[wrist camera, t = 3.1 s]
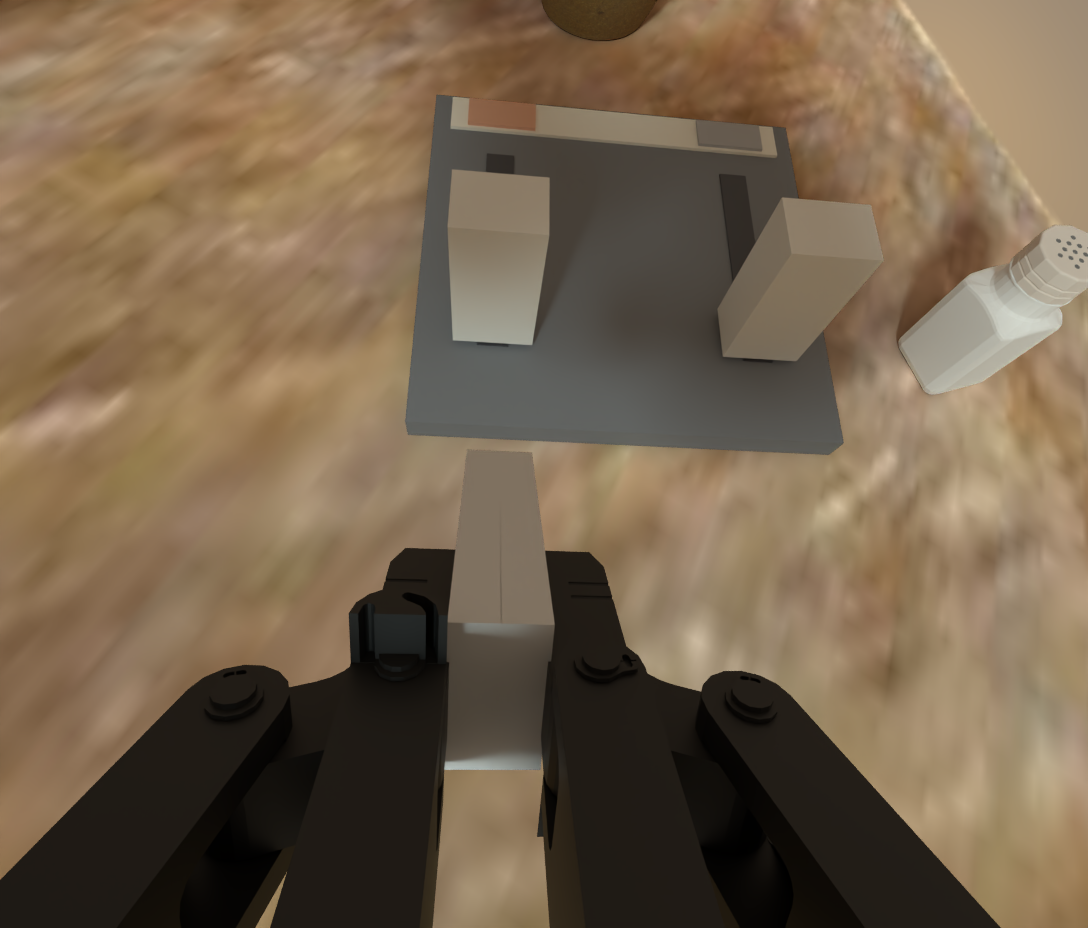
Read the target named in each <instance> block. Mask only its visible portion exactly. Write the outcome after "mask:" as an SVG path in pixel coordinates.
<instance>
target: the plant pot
mask: <svg viewBox="0 0 1088 928" xmlns="http://www.w3.org/2000/svg"><path fill="white" fill-rule="evenodd" d="M656 1H657V0H542V3H543V7H544V10H545V12H546V13H547V15H548V17H549V18H550V19H551V20H552V21H553V22H554V23H555V24H556V25H557V26H559V27H560V28H562V29H563V30H565V31H567V32H569V33H571V34H573V35H576V36H579V37H581V38H586V39H592V40H612V39H618V38H621V37H624V36H627V35H629V34H631V33H632V32H634V31H635V30H636V29H637V28H638V27H639V26H640V25H641V24H642V22H643V21H644V19H645V18H646V16H647V15H648V13H649V12H650V10H651V9H652V7H653V6H654V4H655V2H656Z"/></svg>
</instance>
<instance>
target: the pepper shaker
mask: <svg viewBox="0 0 1088 928" xmlns="http://www.w3.org/2000/svg"><path fill="white" fill-rule="evenodd" d="M1087 288H1088V233H1087V232H1084V231H1082V230H1080V229H1078V228H1075V227H1073V226H1070V225H1053V226H1051V227H1050V228H1048V229H1046V230H1044V231H1043V232H1041V233H1040V234H1039V235H1038V236H1037V237H1036V238H1034V239H1033V240H1032V241H1031V242H1030V243H1029V244H1028V245H1027V246H1025V247H1024V248H1023V250H1021V251H1020V252H1019V253H1017V254H1016V255H1015V256H1014V257H1013V258H1012V259H1011V262H1010V263H1009V264H1004V265H998V266H994V267H990V268H986V269H983V270H980V271H977V272H974V273H971V274H969V275H968V276H967V277H966V278H965V279H963V280H962V281H961V282H960V283H959V284H958V285H957V286H956V287H955V288H954V289H952V290H951V291H950V292H949V293H948V294H947V295H946V296H945V297H944V298H943V299H942V300H941V301H940V302H938V303H937V304H936V305H935V306H934V307H933V308H932V309H931V310H930V311H929V312H928V313H927V314H925V315H924V316H923V317H922V318H921V319H920V320H919V321H918V322H917V323H916V324H915V325H914V326H912V327H911V328H910V329H909V330H908V331H907V332H906V333H905V334H904V335H903V336H902V337H901V338H900V339H899V341H898V344H899V349H900V351H901V352H902V354H903V356H904V357H905V359H906V361H907V363H908V364H909V366H910V368H911V370H912V371H913V373H914V375H915V377H916V378H917V380H918V382H919V383H920V385H921V387H922V389H923V390H924V391H925V392H926V393H928V394H932V395H934V394H940V393H944V392H948V391H952V390H955V389H959V388H963V387H967V386H970V385H974V384H978V383H981V382H983V381H984V380H985V379H987V378H988V377H990V376H991V375H993V374H994V373H996V372H997V371H999V370H1000V369H1001V368H1003V367H1004V366H1006V365H1007V364H1009V363H1010V362H1012V361H1013V360H1014V359H1016V358H1017V357H1019V356H1020V355H1022V354H1023V353H1025V352H1026V351H1027V350H1029V349H1030V348H1032V347H1033V346H1035V345H1036V344H1038V343H1039V342H1041V341H1042V340H1043V339H1045V338H1046V337H1048V336H1049V335H1051V334H1052V333H1054V332H1055V331H1056V330H1058V329H1059V328H1060V326H1061V325H1062V313H1061V310H1060V308H1059V307H1061V306H1063V305H1066V304H1068V303H1069V302H1070V301H1071V300H1072V299H1074V298H1075V297H1076V296H1078V295H1079V294H1080V293H1082V292H1083V291H1084V290H1086V289H1087Z"/></svg>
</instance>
